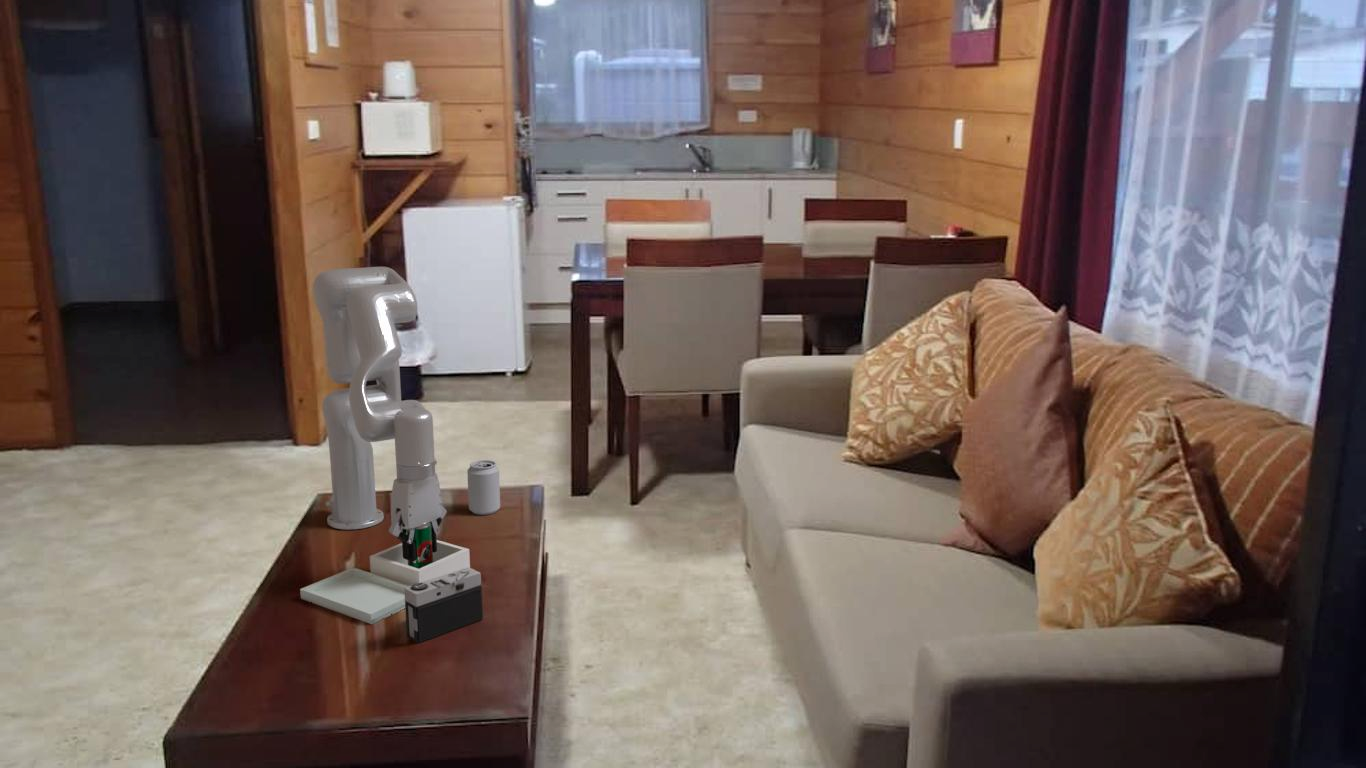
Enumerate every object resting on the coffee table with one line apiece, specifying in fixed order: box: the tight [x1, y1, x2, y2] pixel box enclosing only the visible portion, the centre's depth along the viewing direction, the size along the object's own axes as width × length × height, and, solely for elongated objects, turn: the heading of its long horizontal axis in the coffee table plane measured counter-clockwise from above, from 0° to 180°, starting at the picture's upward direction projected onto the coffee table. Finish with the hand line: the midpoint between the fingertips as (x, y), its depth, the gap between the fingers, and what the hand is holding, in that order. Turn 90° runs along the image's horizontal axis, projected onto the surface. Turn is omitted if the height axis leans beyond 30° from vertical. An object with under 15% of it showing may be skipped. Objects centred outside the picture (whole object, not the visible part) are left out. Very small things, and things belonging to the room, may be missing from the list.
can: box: [466, 459, 501, 516], centre depth 257 cm, size 8×8×12 cm
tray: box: [299, 567, 409, 625], centre depth 209 cm, size 20×13×2 cm, turn 57°
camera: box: [404, 567, 484, 644], centre depth 197 cm, size 14×8×10 cm, turn 135°
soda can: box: [406, 522, 433, 569], centre depth 219 cm, size 5×5×12 cm
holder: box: [369, 539, 471, 586], centre depth 220 cm, size 14×14×5 cm
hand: (420, 554), depth 219 cm, fingers closed on soda can, 5 cm apart
